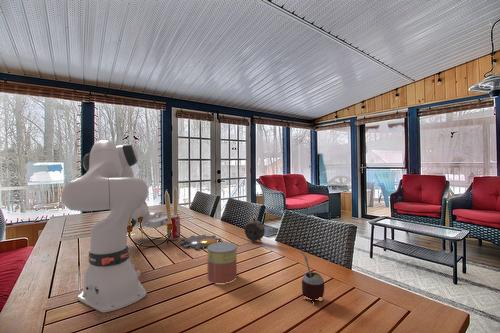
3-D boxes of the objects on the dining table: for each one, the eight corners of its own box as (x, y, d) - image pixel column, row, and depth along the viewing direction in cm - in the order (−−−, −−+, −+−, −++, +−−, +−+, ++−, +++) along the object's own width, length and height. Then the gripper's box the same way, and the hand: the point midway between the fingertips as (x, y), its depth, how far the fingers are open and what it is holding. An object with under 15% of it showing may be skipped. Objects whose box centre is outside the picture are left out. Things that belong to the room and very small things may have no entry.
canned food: (235, 270, 104) (235, 241, 104) (238, 283, 93) (238, 251, 92) (207, 272, 102) (207, 242, 102) (207, 286, 91) (207, 252, 91)
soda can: (177, 240, 140) (177, 217, 139) (165, 240, 141) (164, 217, 140) (182, 236, 147) (181, 214, 146) (170, 236, 148) (169, 214, 147)
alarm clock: (265, 242, 139) (265, 213, 138) (260, 245, 134) (260, 215, 134) (248, 239, 144) (248, 211, 144) (242, 241, 140) (242, 212, 140)
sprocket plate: (230, 242, 139) (230, 239, 139) (196, 253, 122) (196, 250, 122) (204, 234, 154) (204, 231, 154) (171, 243, 137) (171, 240, 137)
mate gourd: (325, 307, 78) (325, 258, 78) (299, 304, 79) (299, 257, 79) (322, 294, 85) (323, 250, 85) (298, 292, 87) (299, 248, 86)
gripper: (141, 218, 136) (163, 219, 132) (164, 211, 156) (184, 212, 152) (141, 229, 136) (163, 231, 132) (164, 221, 156) (184, 223, 152)
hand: (175, 221), depth 142 cm, fingers closed on soda can, 5 cm apart
